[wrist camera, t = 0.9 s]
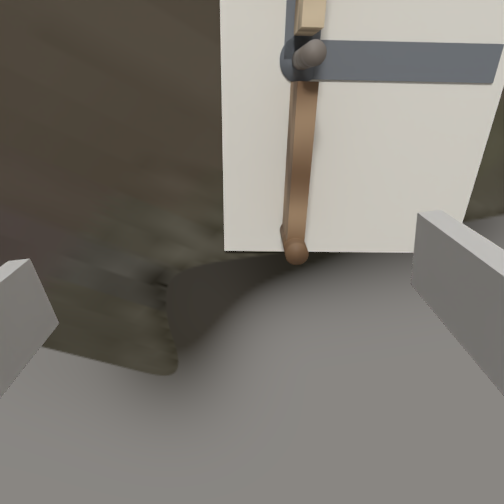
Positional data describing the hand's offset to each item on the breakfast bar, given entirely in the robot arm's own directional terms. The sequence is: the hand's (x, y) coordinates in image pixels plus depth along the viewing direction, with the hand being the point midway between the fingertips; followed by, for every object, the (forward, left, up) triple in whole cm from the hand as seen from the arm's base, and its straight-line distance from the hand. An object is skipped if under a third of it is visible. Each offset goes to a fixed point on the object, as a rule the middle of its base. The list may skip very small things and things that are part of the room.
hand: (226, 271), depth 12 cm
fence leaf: (+5, 0, -19) cm, 19 cm away
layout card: (+10, +6, -20) cm, 23 cm away
